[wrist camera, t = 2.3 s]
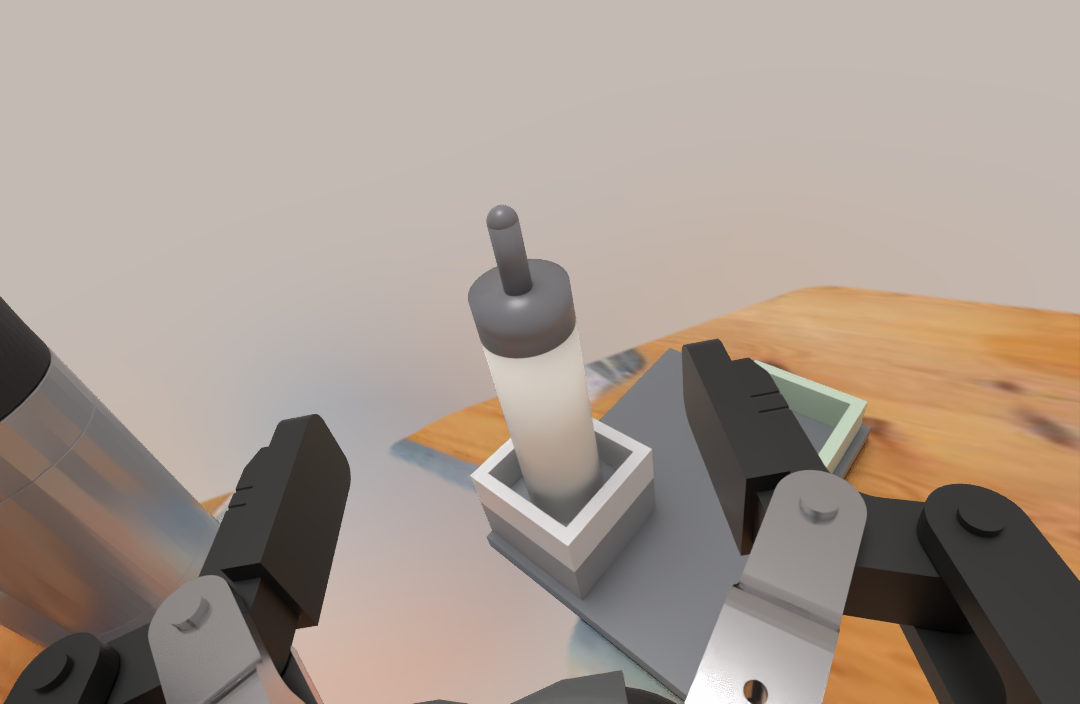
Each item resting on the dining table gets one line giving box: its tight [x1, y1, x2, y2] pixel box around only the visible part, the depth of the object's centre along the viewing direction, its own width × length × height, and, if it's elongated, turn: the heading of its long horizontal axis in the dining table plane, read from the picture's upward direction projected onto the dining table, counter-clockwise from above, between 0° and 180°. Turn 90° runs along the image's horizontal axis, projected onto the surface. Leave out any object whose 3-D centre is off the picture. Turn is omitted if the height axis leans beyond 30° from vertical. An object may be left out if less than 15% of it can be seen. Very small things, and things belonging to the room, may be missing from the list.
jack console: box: [470, 348, 871, 701], centre depth 33 cm, size 20×14×6 cm
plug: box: [468, 205, 603, 523], centre depth 26 cm, size 4×4×18 cm
